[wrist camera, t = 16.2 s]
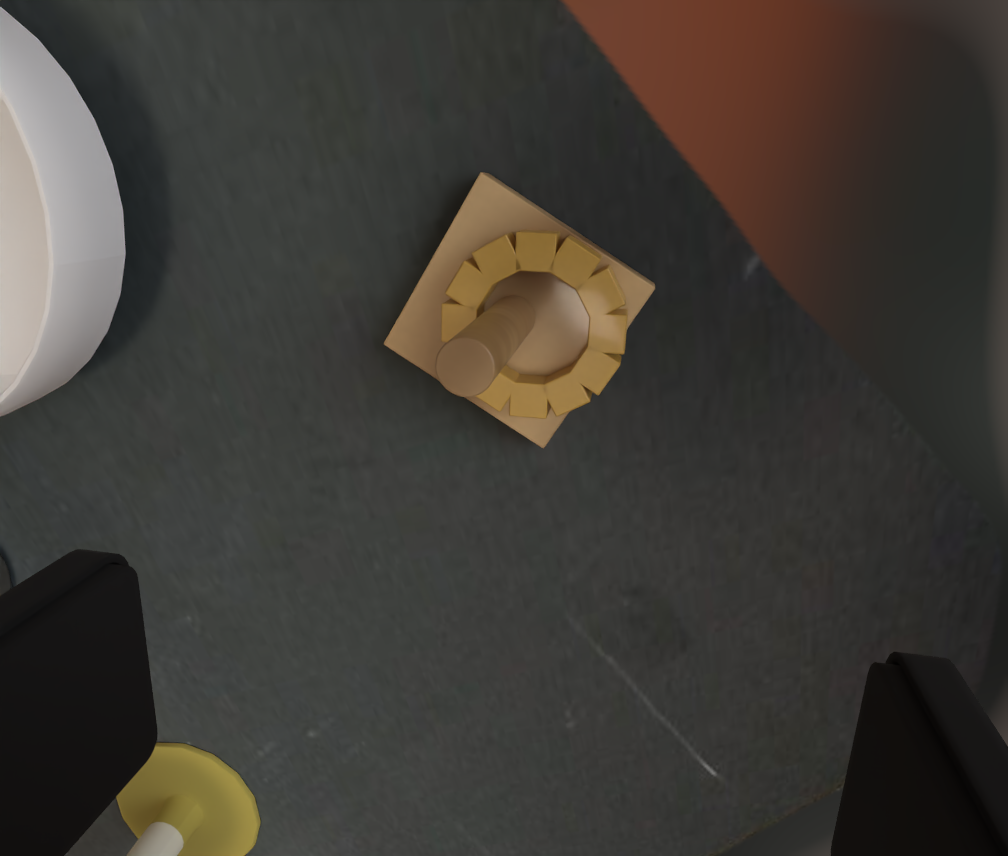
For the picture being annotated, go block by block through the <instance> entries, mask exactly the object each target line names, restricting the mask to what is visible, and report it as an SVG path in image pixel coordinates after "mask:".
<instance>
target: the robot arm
mask: <svg viewBox="0 0 1008 856" xmlns="http://www.w3.org/2000/svg"><path fill="white" fill-rule="evenodd" d="M156 741H157V724H156V716H155V708H154V700H153V692H152V684H151V677H150V669H149V661H148V653H147V645H146V637H145V630H144V622H143V614H142V606H141V598H140V590H139V583H138V577H137V573H136V571H135V570H134V569H133V568H132V567H130V566H129V565H128V562H127V561H126V559H125V558H124V557H123V556H121V555H120V554H114V553H106V552H98V551H90V550H75V551H72V552H70V553H68V554H67V555H65V556H63V557H62V558H60V559H58V560H57V561H55V562H54V563H52V564H50V565H49V566H47V567H46V568H44V569H42V570H41V571H39V572H38V573H36V574H34V575H33V576H31V577H29V578H28V579H26V580H25V581H23V582H21V583H20V584H18V585H17V586H15V587H13V588H12V589H10V590H9V591H7V592H5V593H4V594H2V595H0V856H64V855H65V854H66V853H67V852H68V851H69V850H70V848H71V847H72V846H73V845H74V844H75V843H76V842H77V840H78V839H79V838H80V837H81V836H82V835H83V834H84V833H85V831H86V830H87V829H88V828H89V827H90V826H91V825H92V823H93V822H94V821H95V820H96V819H97V818H98V817H99V816H100V814H101V813H102V812H103V811H104V810H105V809H106V808H107V806H108V805H109V804H110V803H111V802H112V801H113V800H114V799H115V797H116V796H117V795H118V794H119V793H120V792H121V791H122V789H123V788H124V787H125V786H126V785H127V784H128V783H129V781H130V780H131V779H132V778H133V777H134V776H135V775H136V774H137V772H138V771H139V770H140V769H141V768H142V767H143V766H144V764H145V763H146V762H147V761H148V759H149V758H150V756H151V754H152V752H153V750H154V748H155V745H156ZM831 856H1008V746H1007V745H1006V743H1005V742H1004V740H1003V739H1002V737H1001V736H1000V734H999V733H998V731H997V729H996V728H995V726H994V725H993V723H992V722H991V720H990V719H989V717H988V716H987V714H986V713H985V712H984V710H983V708H982V707H981V705H980V703H979V702H978V700H977V699H976V697H975V696H974V694H973V693H972V691H971V690H970V688H969V687H968V685H967V684H966V682H965V681H964V679H963V678H962V676H961V674H960V673H959V671H958V670H957V668H956V667H955V665H954V664H953V663H952V662H951V661H950V660H949V659H946V658H939V657H931V656H923V655H916V654H908V653H900V652H893V653H891V654H890V655H889V657H888V659H887V661H886V664H885V663H877V662H875V663H873V664H872V665H871V667H870V669H869V672H868V676H867V681H866V685H865V690H864V695H863V699H862V704H861V709H860V713H859V718H858V723H857V728H856V732H855V737H854V742H853V746H852V751H851V756H850V760H849V765H848V770H847V774H846V779H845V784H844V788H843V793H842V798H841V803H840V807H839V812H838V817H837V822H836V826H835V831H834V836H833V840H832V846H831Z"/></svg>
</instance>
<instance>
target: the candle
mask: <svg viewBox="0 0 1008 856" xmlns="http://www.w3.org/2000/svg"><path fill="white" fill-rule="evenodd" d="M116 798H117V801H118V805H119V808H120V811H121V814H122V817H123V819H124V821H125V822H126V823H127V825H128V826H129V827H130V829H131V830H132V831H133V832H134V834H135V835H136V836H137V838H138V839H139V840H138V841H137V842H136V843H135V845H134V846H133V847H132V849H131V850H130V851H129V853H128V854H127V855H126V856H245V855H246V854H247V853H248V852H249V851H250V850H251V849H252V848H253V847H254V846H255V844H256V840H257V836H258V831H259V827H260V823H261V821H260V817H259V813H258V809H257V805H256V801H255V797H254V795H253V794H252V793H251V791H250V790H249V788H248V787H247V785H246V784H245V783H244V781H243V780H242V778H241V777H240V776H239V774H238V773H237V772H236V771H234V770H233V769H232V768H230V767H229V766H228V765H227V764H225V763H224V762H223V761H221V760H220V759H219V758H217V757H216V756H215V755H213V754H211V753H209V752H206V751H203V750H201V749H198V748H195V747H193V746H190V745H187V744H185V743H156V745H155V748H154V750H153V752H152V754H151V756H150V758H149V759H148V761H147V762H146V763H145V764H144V766H143V767H142V768H141V769H140V770H139V771H138V772H137V774H136V775H135V776H134V777H133V778H132V779H131V780H130V781H129V783H128V784H127V785H126V786H125V787H124V788H123V789H122V791H121V792H120V793H119V794H118V795H117V796H116Z"/></svg>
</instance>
